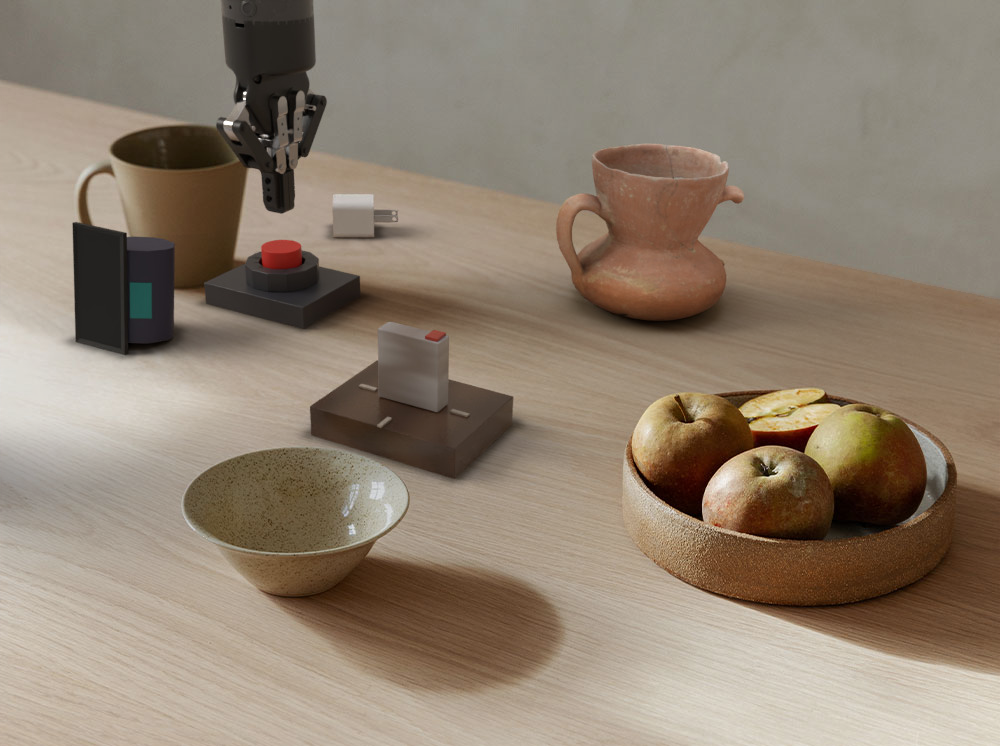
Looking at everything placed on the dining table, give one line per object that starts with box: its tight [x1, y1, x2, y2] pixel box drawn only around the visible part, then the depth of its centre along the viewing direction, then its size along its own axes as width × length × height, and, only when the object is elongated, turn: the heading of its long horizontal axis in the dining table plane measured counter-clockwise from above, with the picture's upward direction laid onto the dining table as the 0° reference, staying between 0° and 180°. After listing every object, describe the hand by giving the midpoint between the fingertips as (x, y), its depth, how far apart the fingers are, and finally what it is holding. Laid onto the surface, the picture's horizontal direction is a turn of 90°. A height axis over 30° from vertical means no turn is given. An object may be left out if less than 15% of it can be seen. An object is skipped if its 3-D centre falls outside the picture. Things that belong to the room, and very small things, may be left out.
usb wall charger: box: [332, 193, 399, 239], centre depth 120 cm, size 4×7×4 cm, turn 96°
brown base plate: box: [309, 359, 514, 480], centre depth 81 cm, size 12×9×3 cm
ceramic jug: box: [555, 143, 745, 322], centre depth 102 cm, size 18×14×14 cm
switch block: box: [203, 249, 361, 330], centre depth 102 cm, size 11×9×4 cm
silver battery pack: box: [377, 321, 450, 412], centre depth 79 cm, size 5×2×6 cm, turn 64°
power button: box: [260, 239, 303, 269], centre depth 101 cm, size 4×4×2 cm
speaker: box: [72, 221, 176, 356], centre depth 92 cm, size 8×6×10 cm
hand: (279, 210), depth 99 cm, fingers closed
